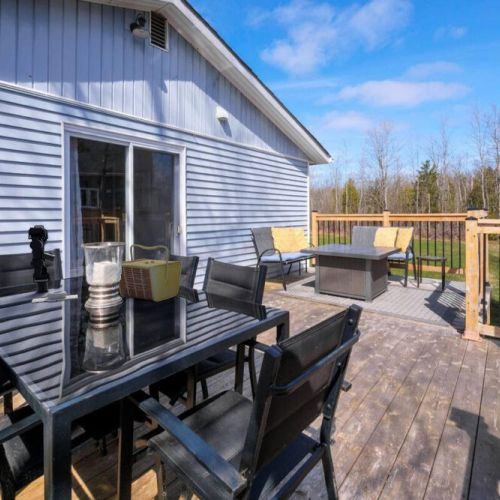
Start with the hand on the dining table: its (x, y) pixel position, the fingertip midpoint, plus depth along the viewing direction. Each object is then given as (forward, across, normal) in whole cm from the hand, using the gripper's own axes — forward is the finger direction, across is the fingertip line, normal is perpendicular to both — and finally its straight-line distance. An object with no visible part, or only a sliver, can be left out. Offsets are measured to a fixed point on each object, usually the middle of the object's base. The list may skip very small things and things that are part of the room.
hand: (39, 276), depth 195 cm
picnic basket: (+12, -31, -56) cm, 65 cm away
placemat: (+12, -12, -8) cm, 19 cm away
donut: (+10, -6, -8) cm, 14 cm away
